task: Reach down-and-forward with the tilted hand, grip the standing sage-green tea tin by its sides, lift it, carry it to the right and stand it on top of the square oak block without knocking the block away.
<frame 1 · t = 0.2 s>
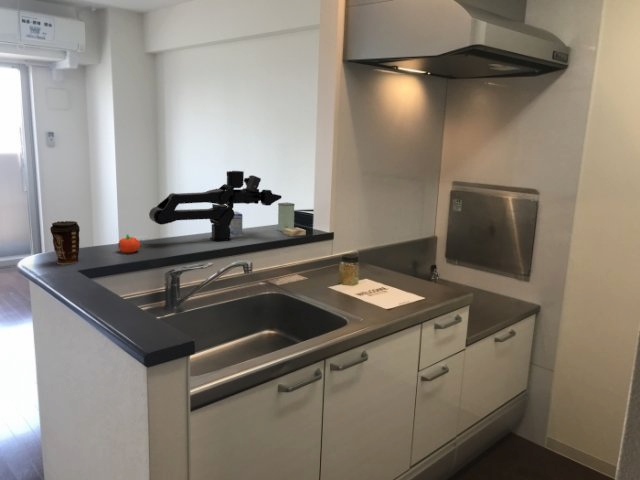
hand: (275, 196, 221), 17 cm above the countertop, tool horizontal, fingers open, 9 cm apart
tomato: (129, 252, 186), on the countertop
tea tin: (285, 230, 234), on the countertop
medicine box: (235, 232, 227), on the countertop
oak block: (294, 235, 227), on the countertop
coffee cup: (67, 262, 169), on the countertop
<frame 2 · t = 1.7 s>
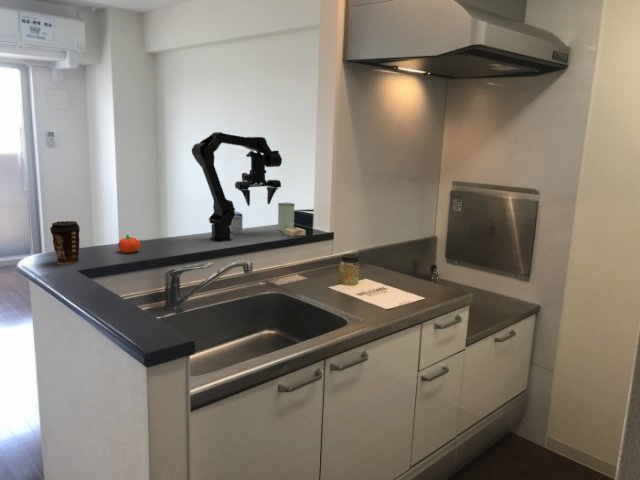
hand: (258, 205, 220), 13 cm above the countertop, tool pointing down, fingers open, 9 cm apart
nothing on the countertop moved.
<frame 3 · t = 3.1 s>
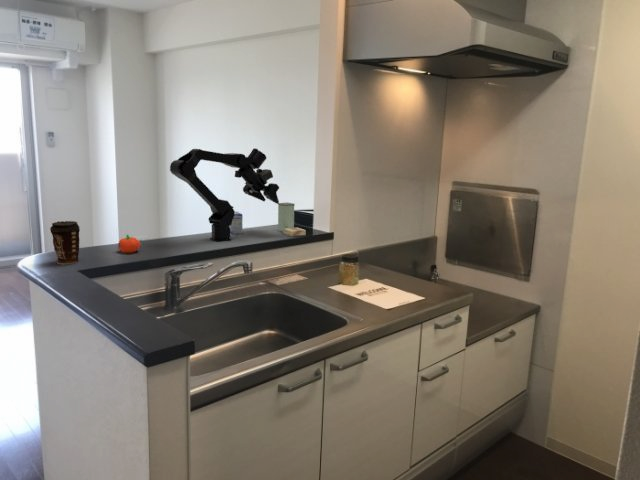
hand: (271, 201, 226), 13 cm above the countertop, tool tilted 45°, fingers open, 9 cm apart
nothing on the countertop moved.
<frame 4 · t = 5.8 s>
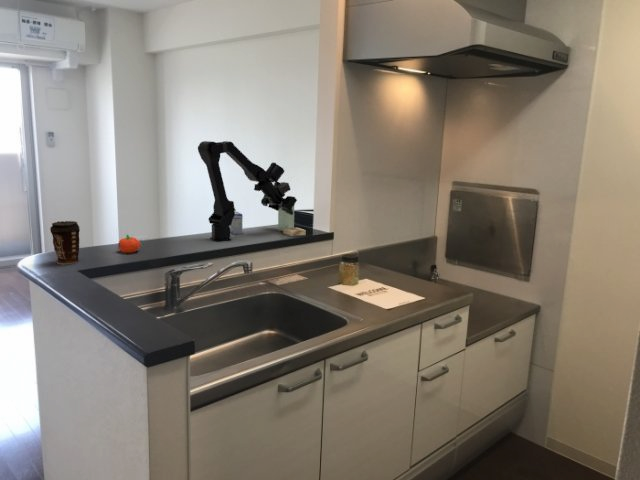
hand: (288, 213, 234), 8 cm above the countertop, tool tilted 45°, fingers closed on tea tin, 5 cm apart
tea tin: (285, 230, 234), on the countertop, touching gripper
everything else where it was.
when the fingers open (11 cm above the countertop, at t = 8.4 s): tea tin drops 2 cm, resting on oak block.
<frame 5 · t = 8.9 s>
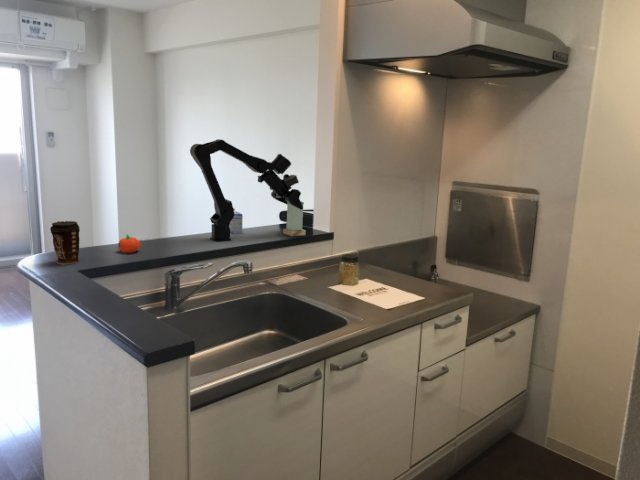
hand: (297, 207, 225), 12 cm above the countertop, tool tilted 45°, fingers open, 9 cm apart
tea tin: (294, 229, 226), point 2 cm above the countertop, tilted 5°, touching oak block
oak block: (294, 235, 227), on the countertop, touching tea tin
everything else where it was.
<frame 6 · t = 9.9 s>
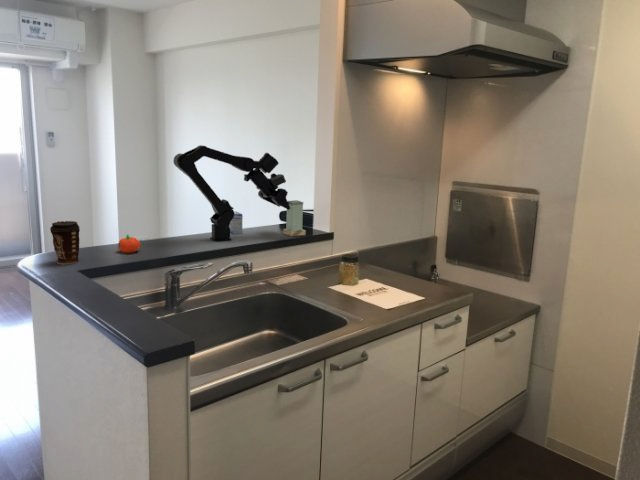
hand: (284, 207, 222), 12 cm above the countertop, tool tilted 45°, fingers open, 9 cm apart
tea tin: (294, 229, 225), point 2 cm above the countertop
oak block: (294, 235, 227), on the countertop
everything else where it was.
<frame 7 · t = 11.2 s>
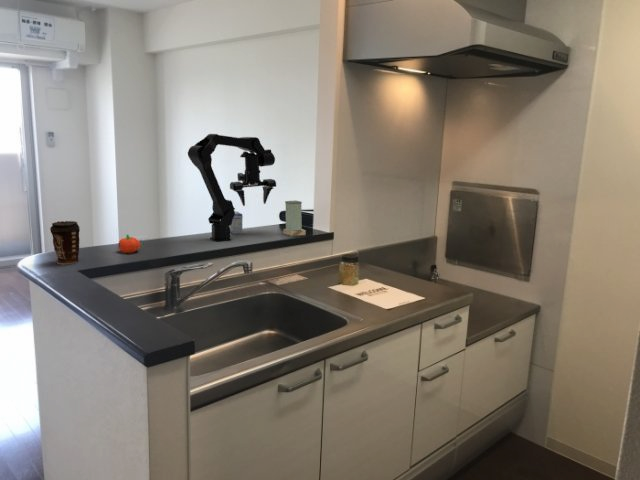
hand: (254, 204, 221), 13 cm above the countertop, tool pointing down, fingers open, 9 cm apart
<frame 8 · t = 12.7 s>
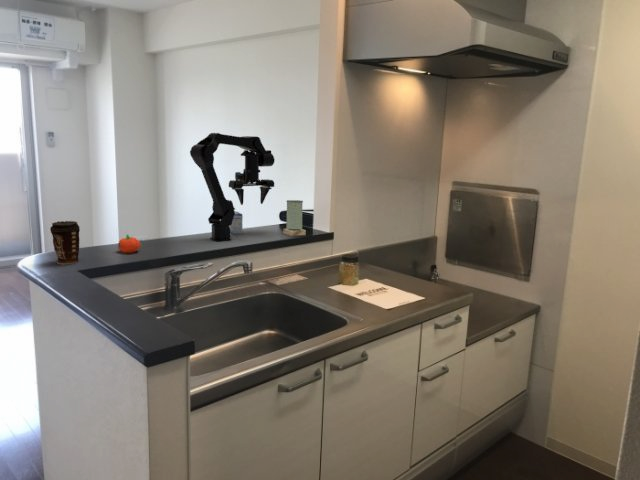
hand: (251, 204, 220), 13 cm above the countertop, tool pointing down, fingers open, 9 cm apart
at the end: tea tin 0.4 cm off-centre on the oak block, point 2.9 cm above the oak block's base; tea tin tilted 6°; oak block moved 0.5 cm from its start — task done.
